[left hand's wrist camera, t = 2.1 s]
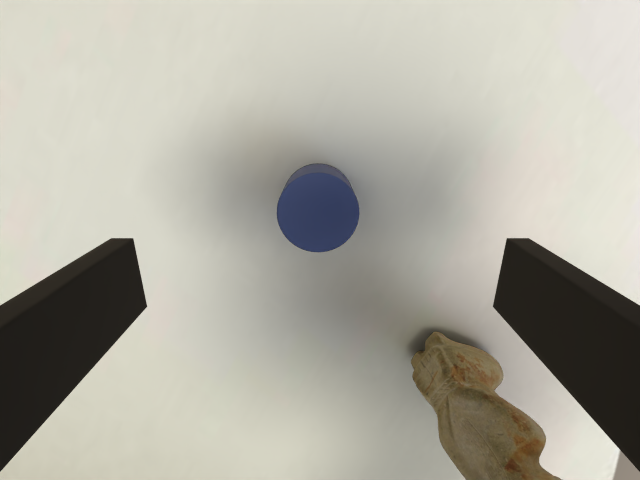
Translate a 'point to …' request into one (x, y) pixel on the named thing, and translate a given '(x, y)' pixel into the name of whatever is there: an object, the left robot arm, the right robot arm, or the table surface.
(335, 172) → the can
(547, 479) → the sculpture
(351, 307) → the table surface
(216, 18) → the table surface
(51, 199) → the table surface
